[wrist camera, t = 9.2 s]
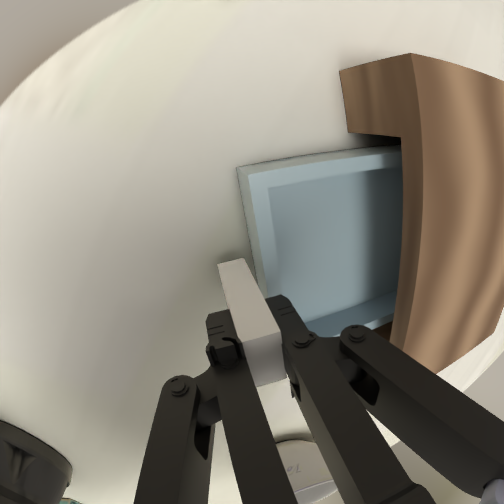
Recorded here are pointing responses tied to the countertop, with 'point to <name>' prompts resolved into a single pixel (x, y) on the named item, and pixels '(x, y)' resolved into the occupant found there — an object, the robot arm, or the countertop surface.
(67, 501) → the device
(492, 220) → the shelf
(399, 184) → the tray
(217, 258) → the countertop surface
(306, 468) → the teacup
